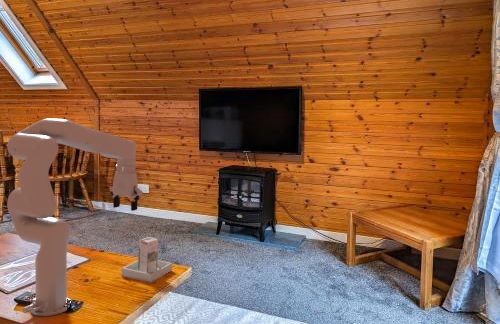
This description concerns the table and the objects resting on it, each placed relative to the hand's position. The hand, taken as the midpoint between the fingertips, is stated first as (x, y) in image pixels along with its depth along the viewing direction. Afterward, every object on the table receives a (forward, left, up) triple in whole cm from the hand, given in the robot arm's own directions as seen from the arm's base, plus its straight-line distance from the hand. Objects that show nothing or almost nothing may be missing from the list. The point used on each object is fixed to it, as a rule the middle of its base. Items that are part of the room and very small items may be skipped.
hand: (125, 208), depth 166 cm
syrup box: (+2, -11, -27) cm, 29 cm away
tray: (+2, -11, -28) cm, 30 cm away
